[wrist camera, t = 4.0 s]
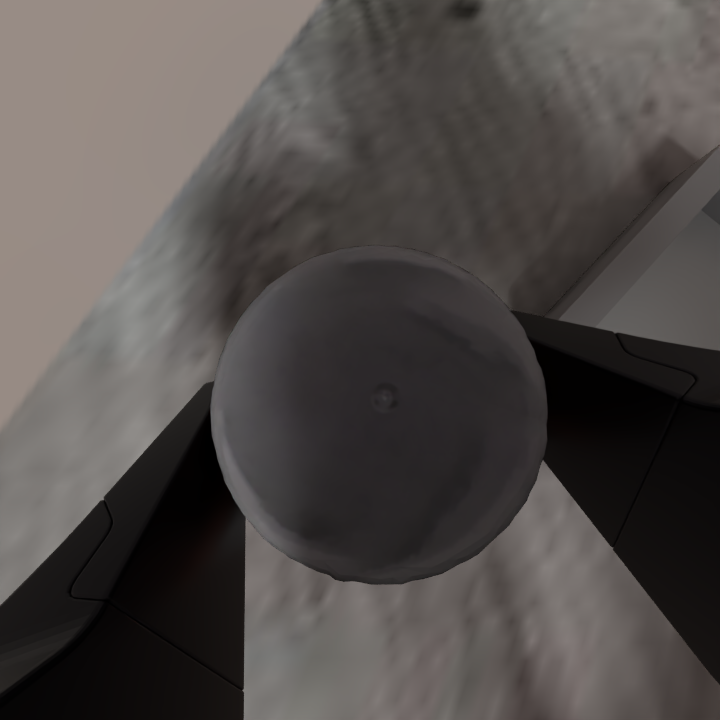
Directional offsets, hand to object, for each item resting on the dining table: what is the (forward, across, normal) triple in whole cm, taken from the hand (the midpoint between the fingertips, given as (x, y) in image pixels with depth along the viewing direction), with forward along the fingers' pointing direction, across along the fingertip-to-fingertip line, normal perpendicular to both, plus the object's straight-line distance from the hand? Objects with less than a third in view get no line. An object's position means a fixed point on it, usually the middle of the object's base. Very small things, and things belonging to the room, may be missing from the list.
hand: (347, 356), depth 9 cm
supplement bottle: (+4, 0, +6) cm, 7 cm away
